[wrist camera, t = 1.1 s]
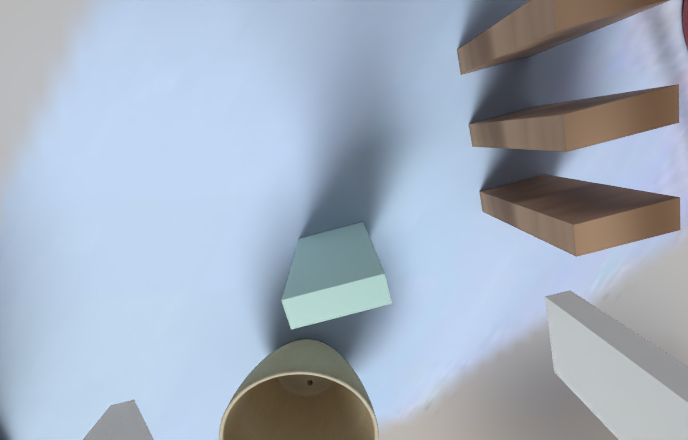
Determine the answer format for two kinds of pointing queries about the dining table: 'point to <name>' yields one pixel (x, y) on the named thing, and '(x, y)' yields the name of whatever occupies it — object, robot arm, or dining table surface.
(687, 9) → the canister
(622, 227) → the domino
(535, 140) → the domino
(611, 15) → the domino
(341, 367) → the flower pot
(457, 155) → the dining table surface
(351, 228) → the domino
